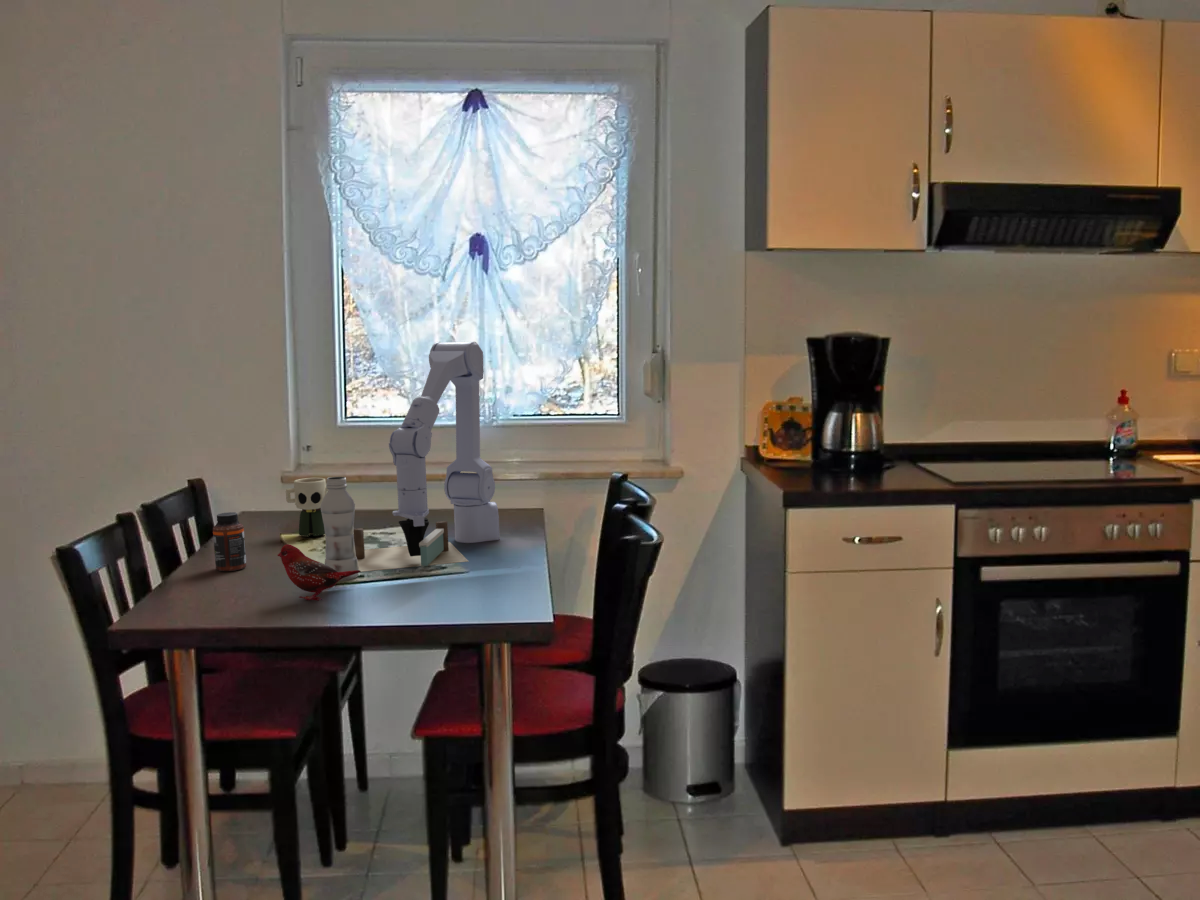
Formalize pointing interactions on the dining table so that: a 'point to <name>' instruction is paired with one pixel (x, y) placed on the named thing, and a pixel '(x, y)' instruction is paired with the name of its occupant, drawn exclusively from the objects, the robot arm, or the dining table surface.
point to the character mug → (309, 504)
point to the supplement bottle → (229, 543)
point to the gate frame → (401, 554)
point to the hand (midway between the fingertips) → (415, 555)
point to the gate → (431, 546)
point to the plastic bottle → (339, 527)
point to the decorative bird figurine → (309, 572)
